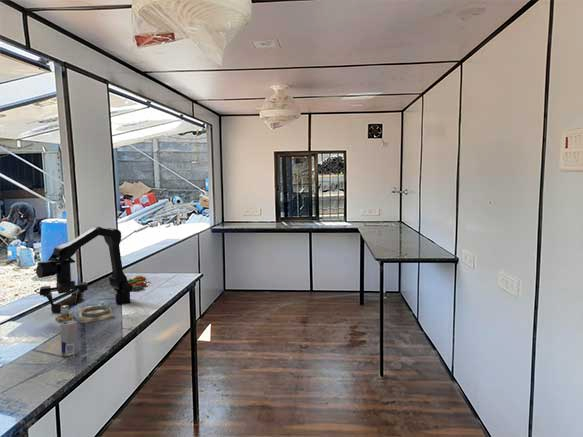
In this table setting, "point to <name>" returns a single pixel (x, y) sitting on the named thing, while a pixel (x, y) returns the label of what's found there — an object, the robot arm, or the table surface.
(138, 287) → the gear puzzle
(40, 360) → the table surface
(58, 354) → the table surface
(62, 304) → the hand tool
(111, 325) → the table surface
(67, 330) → the energy drink
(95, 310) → the gear board
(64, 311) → the bronze gear
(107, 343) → the table surface
